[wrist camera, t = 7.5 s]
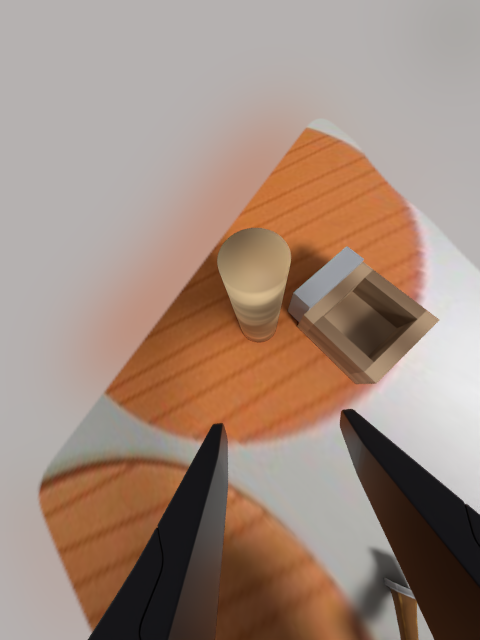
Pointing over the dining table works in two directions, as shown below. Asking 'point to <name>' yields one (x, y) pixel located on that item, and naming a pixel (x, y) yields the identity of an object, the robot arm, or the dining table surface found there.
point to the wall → (323, 282)
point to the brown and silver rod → (404, 610)
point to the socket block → (366, 325)
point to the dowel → (255, 279)
